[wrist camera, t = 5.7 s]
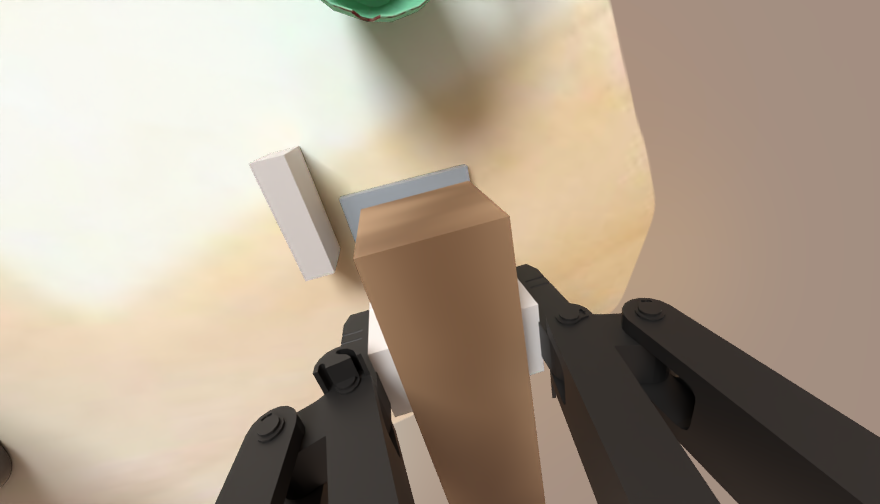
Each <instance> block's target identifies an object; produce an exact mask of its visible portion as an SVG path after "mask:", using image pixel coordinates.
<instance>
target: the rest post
mask: <svg viewBox="0 0 880 504" xmlns="http://www.w3.org/2000/svg"><path fill="white" fill-rule="evenodd" d="M249 166H250V168H251V170H252V172H253V174H254V176H255V178H256V180H257V182H258V184H259V186H260V188H261V190H262V193H263V195H264V197H265V199H266V201H267V203H268V205H269V207H270V209H271V211H272V213H273V215H274V217H275V219H276V221H277V223H278V225H279V228H280V230H281V232H282V234H283V236H284V238H285V240H286V242H287V244H288V246H289V248H290V250H291V252H292V254H293V256H294V258H295V260H296V262H297V265H298V267H299V269H300V271H301V273H302V275H303V277H304V279H305V281H308V280H312V279H315V278H319V277H322V276H326V275H330V274H333V273H335V270H336V266H337V262H338V257H339V253H340V246H339V244H338V241H337V239H336V236H335V234H334V231H333V229H332V226H331V224H330V221H329V219H328V216H327V214H326V211H325V209H324V207H323V204H322V202H321V199H320V197H319V194H318V192H317V189H316V187H315V184H314V182H313V179H312V177H311V174H310V172H309V169H308V167H307V164H306V162H305V159H304V157H303V155H302V152H301V150H300V147H299V146H298V147H293V148H289V149H285V150H281V151H277V152H273V153H270V154H267V155H265V156H263V157H261V158H259V159H257V160H255V161H253V162H251V163H249Z"/></svg>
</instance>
